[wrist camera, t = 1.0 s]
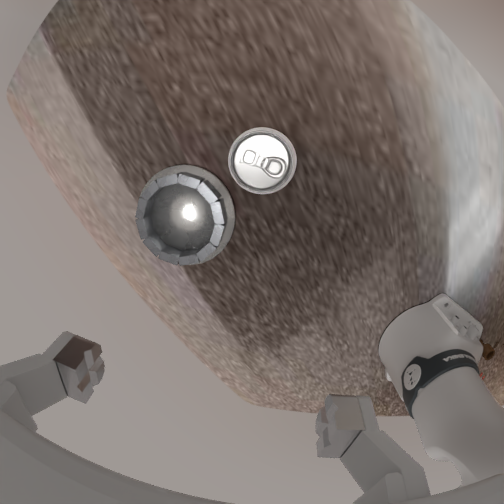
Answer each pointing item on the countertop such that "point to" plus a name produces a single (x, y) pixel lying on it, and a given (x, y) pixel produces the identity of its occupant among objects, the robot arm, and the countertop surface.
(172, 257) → the notched rim bowl
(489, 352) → the place setting
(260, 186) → the can
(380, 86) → the countertop surface
